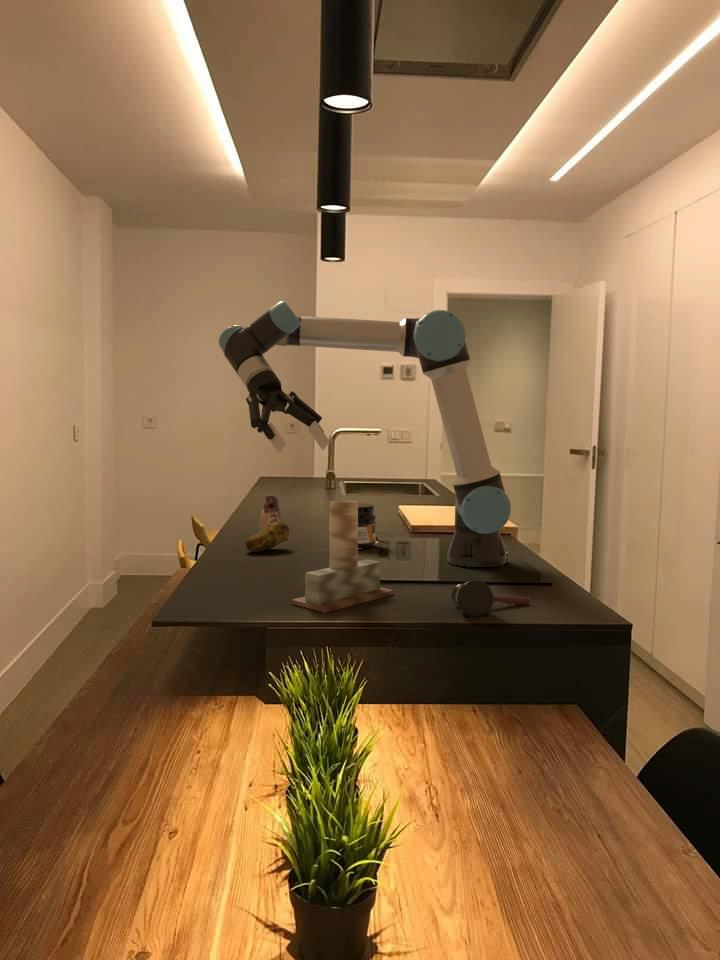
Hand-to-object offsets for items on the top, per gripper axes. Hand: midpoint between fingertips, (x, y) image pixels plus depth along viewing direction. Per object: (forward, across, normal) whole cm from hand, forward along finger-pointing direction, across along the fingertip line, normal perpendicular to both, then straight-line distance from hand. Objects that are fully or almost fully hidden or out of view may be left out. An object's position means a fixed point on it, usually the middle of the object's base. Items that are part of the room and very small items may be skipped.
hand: (304, 447), depth 189 cm
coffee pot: (+54, -12, +8) cm, 55 cm away
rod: (+28, +3, -7) cm, 29 cm away
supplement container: (+6, -43, -39) cm, 59 cm away
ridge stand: (+33, +3, -12) cm, 35 cm away
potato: (-4, -21, -49) cm, 53 cm away
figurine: (-19, -42, -64) cm, 79 cm away
